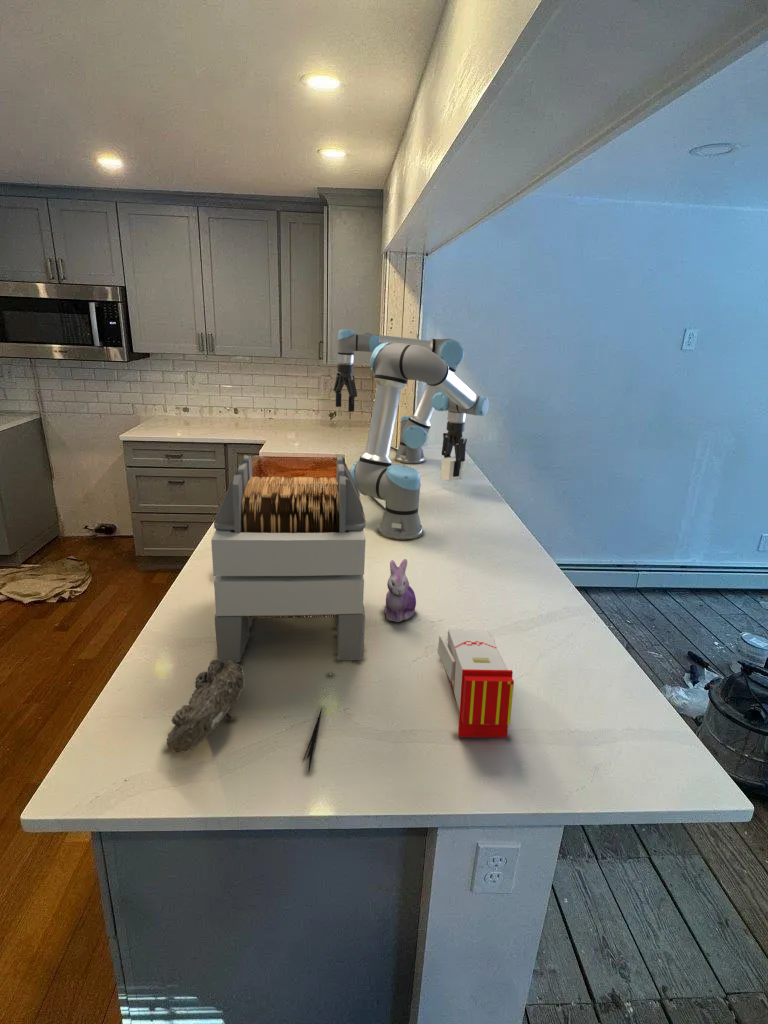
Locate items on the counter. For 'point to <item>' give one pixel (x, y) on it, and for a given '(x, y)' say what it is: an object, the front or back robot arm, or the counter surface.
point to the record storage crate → (289, 556)
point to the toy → (478, 682)
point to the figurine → (399, 594)
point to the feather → (313, 740)
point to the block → (450, 469)
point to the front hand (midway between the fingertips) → (451, 474)
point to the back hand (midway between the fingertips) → (344, 409)
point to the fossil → (206, 705)
